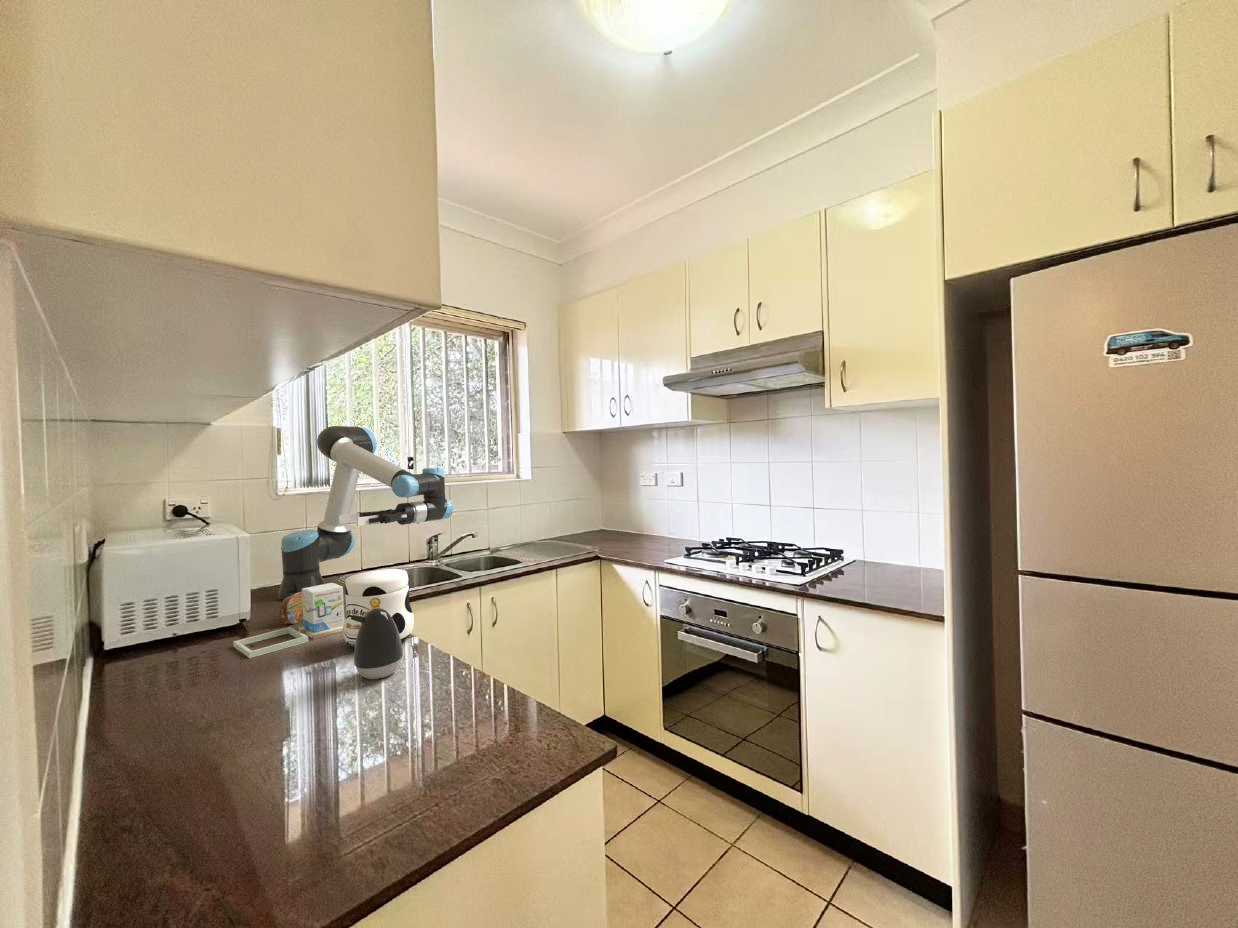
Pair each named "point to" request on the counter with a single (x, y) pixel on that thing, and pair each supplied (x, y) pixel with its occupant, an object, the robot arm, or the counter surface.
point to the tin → (292, 609)
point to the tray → (250, 654)
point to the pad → (321, 633)
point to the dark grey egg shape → (377, 645)
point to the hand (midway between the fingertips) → (347, 520)
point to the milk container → (378, 600)
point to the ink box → (323, 607)
